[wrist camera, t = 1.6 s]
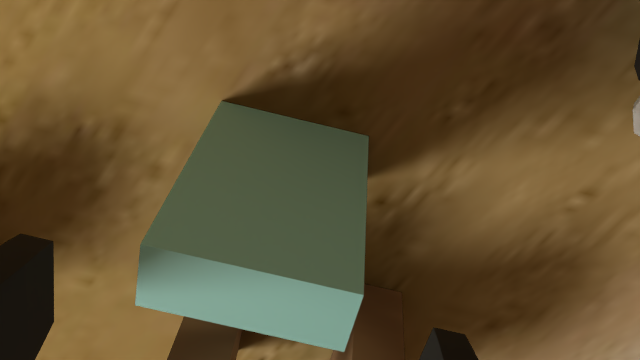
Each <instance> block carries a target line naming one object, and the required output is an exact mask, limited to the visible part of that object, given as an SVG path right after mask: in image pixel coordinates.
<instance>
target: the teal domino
mask: <svg viewBox="0 0 640 360" xmlns="http://www.w3.org/2000/svg"><path fill="white" fill-rule="evenodd" d="M368 142H369V136H366V135H362V134H358V133H354V132H349V131H345V130H341V129H337V128H333V127H329V126H324V125H320V124H316V123H312V122H308V121H304V120H299V119H295V118H291V117H287V116H283V115H278V114H274V113H270V112H266V111H262V110H258V109H253V108H249V107H245V106H241V105H237V104H233V103H228V102H224V101H221V103H220V104H219V106H218V108H217V110H216V111H215V113H214V115H213V117H212V118H211V120H210V122H209V124H208V126H207V127H206V129H205V131H204V133H203V134H202V136H201V138H200V140H199V142H198V143H197V145H196V147H195V149H194V150H193V152H192V154H191V156H190V157H189V159H188V161H187V163H186V165H185V166H184V168H183V170H182V172H181V173H180V175H179V177H178V179H177V180H176V182H175V184H174V186H173V188H172V189H171V191H170V193H169V195H168V196H167V198H166V200H165V202H164V203H163V205H162V207H161V209H160V211H159V212H158V214H157V216H156V218H155V219H154V221H153V223H152V225H151V227H150V228H149V230H148V232H147V234H146V235H145V237H144V239H143V241H142V242H141V245H140V256H139V267H138V279H137V290H136V301H135V305H137V306H141V307H145V308H150V309H154V310H159V311H163V312H168V313H172V314H177V315H181V316H186V317H190V318H194V319H199V320H203V321H208V322H212V323H217V324H221V325H226V326H230V327H235V328H239V329H243V330H248V331H252V332H257V333H261V334H266V335H270V336H275V337H279V338H284V339H288V340H292V341H297V342H301V343H306V344H310V345H315V346H319V347H324V348H328V349H333V350H337V351H341V352H344V351H345V348H346V345H347V342H348V339H349V336H350V334H351V331H352V328H353V325H354V322H355V319H356V316H357V313H358V310H359V307H360V305H361V302H362V299H363V296H364V271H365V239H366V207H367V174H368Z"/></svg>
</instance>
